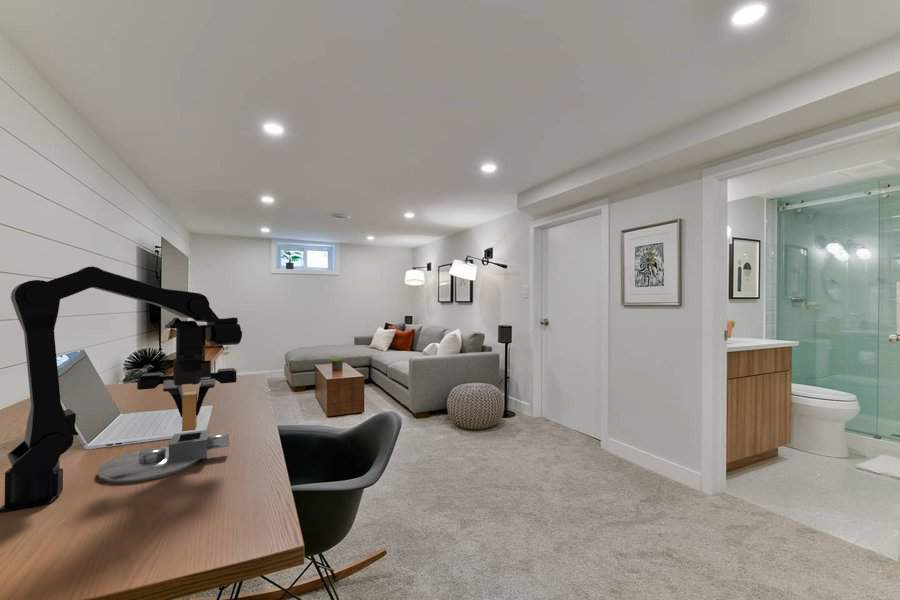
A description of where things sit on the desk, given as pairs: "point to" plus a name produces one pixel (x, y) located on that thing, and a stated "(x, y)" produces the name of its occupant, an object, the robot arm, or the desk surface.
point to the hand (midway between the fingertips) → (189, 415)
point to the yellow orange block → (189, 411)
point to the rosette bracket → (162, 458)
